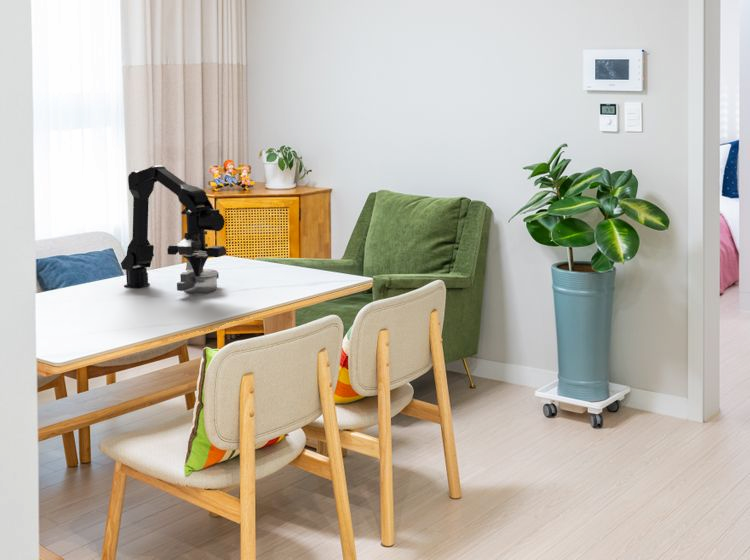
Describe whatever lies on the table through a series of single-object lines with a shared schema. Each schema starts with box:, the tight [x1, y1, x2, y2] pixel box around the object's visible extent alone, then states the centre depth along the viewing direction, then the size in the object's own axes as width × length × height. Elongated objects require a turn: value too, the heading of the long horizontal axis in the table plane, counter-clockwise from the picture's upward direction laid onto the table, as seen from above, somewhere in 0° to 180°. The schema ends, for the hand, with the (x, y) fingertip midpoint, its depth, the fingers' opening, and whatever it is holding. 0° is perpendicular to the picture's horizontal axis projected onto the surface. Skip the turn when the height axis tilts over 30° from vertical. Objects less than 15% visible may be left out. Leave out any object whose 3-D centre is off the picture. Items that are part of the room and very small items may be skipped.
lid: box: [179, 268, 218, 282], centre depth 315 cm, size 18×12×2 cm, turn 164°
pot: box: [176, 271, 220, 295], centre depth 317 cm, size 20×11×5 cm, turn 158°
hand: (197, 276), depth 308 cm, fingers closed
